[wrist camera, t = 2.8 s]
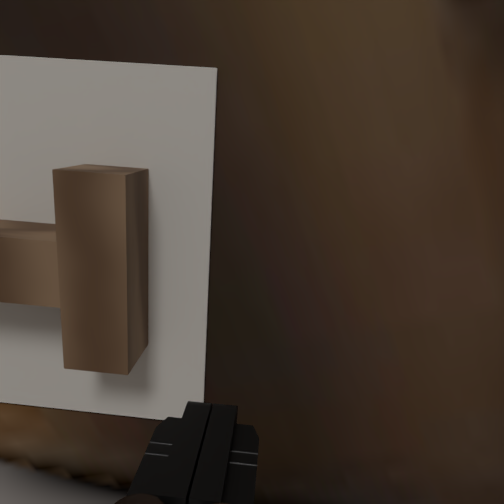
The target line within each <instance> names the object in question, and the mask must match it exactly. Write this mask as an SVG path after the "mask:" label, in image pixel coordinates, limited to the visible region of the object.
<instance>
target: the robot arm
mask: <svg viewBox="0 0 504 504" xmlns="http://www.w3.org/2000/svg"><path fill="white" fill-rule="evenodd" d="M237 411H238V406H232V405H223V404H213V407H212V403H203V402H193V401H188V402H187V404H186V407H185V410H184V413H183V416H182V418H176V417H167V418H166V419H165V420H164V421H163V422H162V423H160V424H159V425H158V426H157V427H156V429H155V431H154V433H153V436H152V438H151V440H150V443H149V445H148V447H147V450H146V453H145V455H144V456H143V459H142V461H141V463H140V466H139V468H138V470H137V473H136V475H135V477H134V480H133V482H132V484H131V486H130V489H129V491H128V493H127V496H126V497H124V498H122V499H120V500H119V501H117V502H116V503H115V504H254V494H255V482H256V470H257V458H258V446H259V437H258V435H257V433H256V431H255V429H254V427H253V426H251V425H242V424H237Z"/></svg>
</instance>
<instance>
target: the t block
mask: <svg viewBox="0 0 504 504" xmlns="http://www.w3.org/2000/svg"><path fill="white" fill-rule="evenodd" d="M52 175H53V192H54V209H55V224H50V223H38V222H26V221H13V220H1V219H0V302H3V303H14V304H24V305H35V306H45V307H56V308H60V311H61V329H62V346H63V363H64V369H72V370H82V371H92V372H101V373H111V374H121V375H129V373H130V372H131V370H132V368H133V367H134V365H135V364H136V362H137V361H138V359H139V358H140V356H141V355H142V353H143V352H144V350H145V349H146V347H147V346H148V204H149V169H146V168H133V167H119V166H106V165H92V164H82V165H76V166H70V167H64V168H58V169H52Z"/></svg>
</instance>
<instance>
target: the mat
mask: <svg viewBox="0 0 504 504" xmlns="http://www.w3.org/2000/svg"><path fill="white" fill-rule="evenodd" d="M216 91H217V68H207V67H191V66H174V65H157V64H141V63H124V62H107V61H91V60H74V59H57V58H41V57H24V56H7V55H0V219H1V220H13V221H26V222H38V223H50V224H55V209H54V192H53V175H52V169H58V168H64V167H70V166H76V165H82V164H92V165H106V166H119V167H133V168H146V169H149V204H148V346H147V347H146V349H145V350H144V352H143V353H142V355H141V356H140V358H139V359H138V361H137V362H136V364H135V365H134V367H133V368H132V370H131V372H130V373H129V375H121V374H111V373H101V372H92V371H82V370H72V369H64V363H63V346H62V329H61V311H60V308H56V307H45V306H35V305H24V304H14V303H3V302H0V402H3V403H13V404H22V405H31V406H40V407H49V408H58V409H67V410H76V411H85V412H95V413H104V414H113V415H122V416H131V417H140V418H149V419H158V420H165V419H166V418H167V417H176V418H182V416H183V413H184V410H185V407H186V404H187V402H188V401H193V402H203V403H204V386H205V361H206V337H207V312H208V288H209V263H210V239H211V214H212V190H213V165H214V141H215V116H216Z"/></svg>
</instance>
